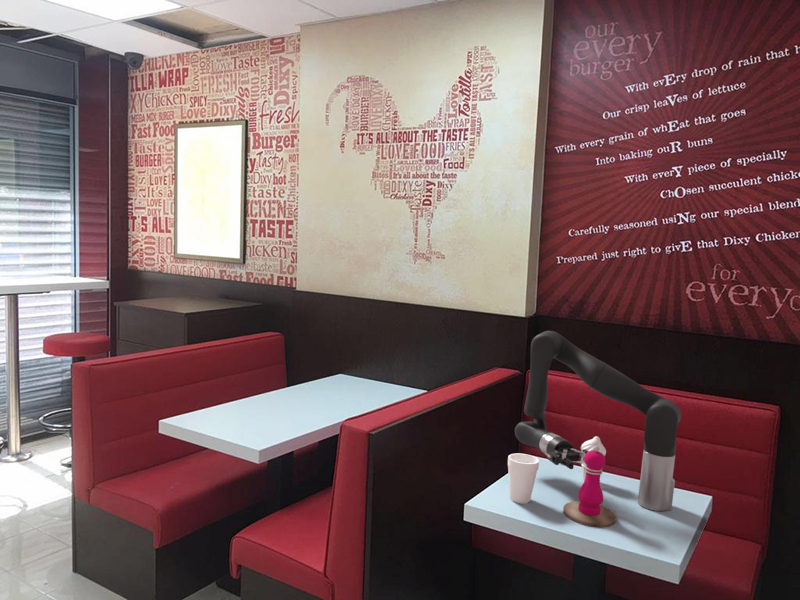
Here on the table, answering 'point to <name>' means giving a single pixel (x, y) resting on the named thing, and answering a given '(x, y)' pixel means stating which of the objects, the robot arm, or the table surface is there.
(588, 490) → the pepper mill
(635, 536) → the table surface
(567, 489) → the table surface
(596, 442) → the soft serve ice cream cone
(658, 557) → the table surface
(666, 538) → the table surface
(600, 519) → the walnut board
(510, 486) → the foam cup
